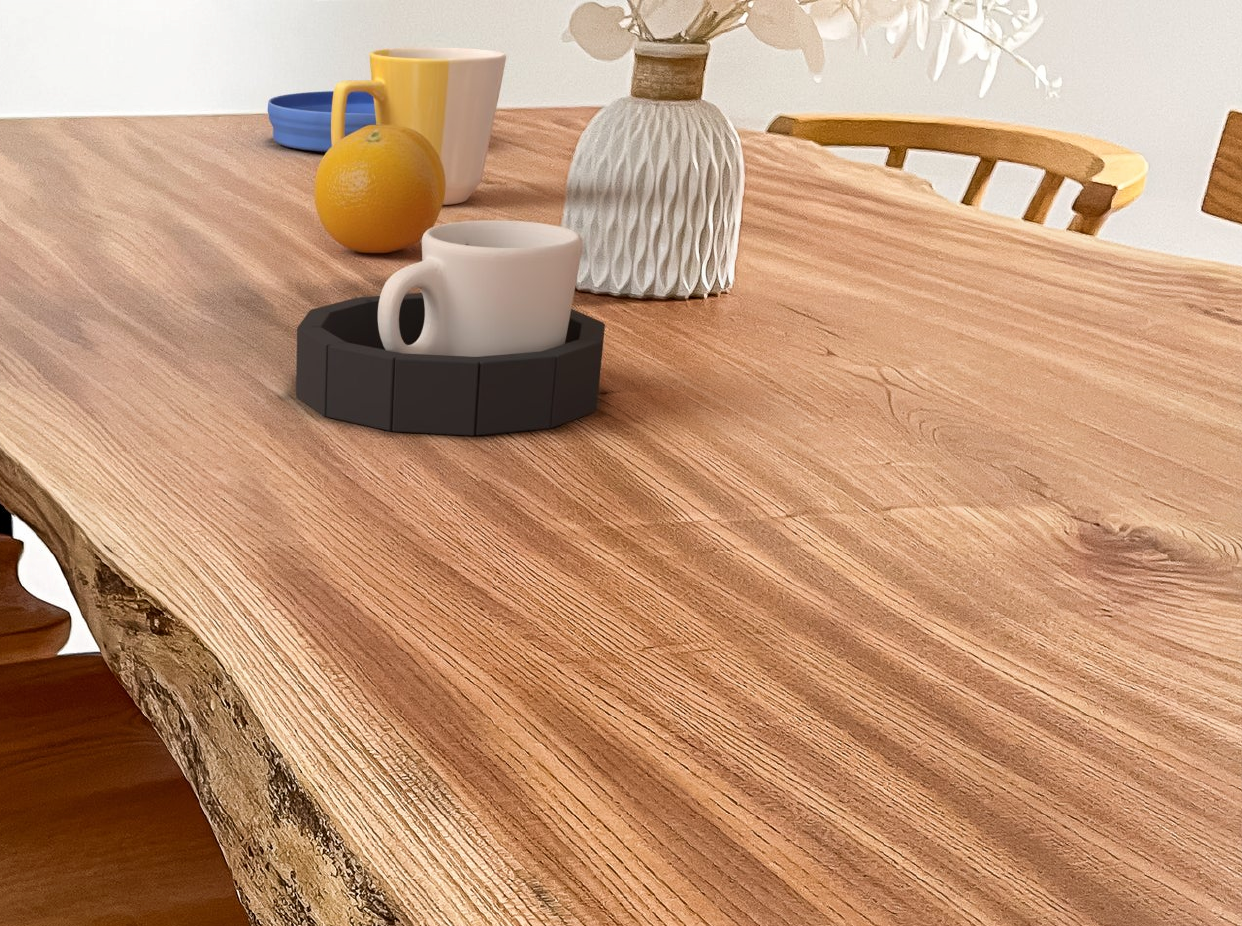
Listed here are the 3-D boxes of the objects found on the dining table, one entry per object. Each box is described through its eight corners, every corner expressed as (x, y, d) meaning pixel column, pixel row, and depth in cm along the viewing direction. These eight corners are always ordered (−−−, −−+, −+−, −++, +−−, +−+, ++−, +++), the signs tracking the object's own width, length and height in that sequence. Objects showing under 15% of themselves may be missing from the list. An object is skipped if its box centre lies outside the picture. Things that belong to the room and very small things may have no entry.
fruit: (308, 261, 131) (311, 132, 127) (318, 239, 138) (321, 116, 134) (440, 265, 130) (447, 135, 126) (443, 242, 137) (450, 118, 133)
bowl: (471, 158, 170) (474, 114, 168) (265, 157, 170) (265, 113, 168) (457, 130, 185) (460, 89, 183) (268, 128, 186) (269, 88, 184)
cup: (418, 431, 95) (426, 259, 91) (339, 394, 101) (343, 231, 97) (600, 406, 99) (615, 240, 95) (513, 371, 105) (524, 214, 101)
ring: (601, 366, 106) (607, 299, 105) (592, 442, 93) (599, 368, 92) (323, 353, 109) (325, 287, 107) (277, 425, 96) (278, 353, 94)
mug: (472, 186, 157) (480, 43, 152) (515, 208, 149) (525, 57, 143) (308, 192, 155) (311, 47, 149) (342, 215, 146) (346, 61, 141)
